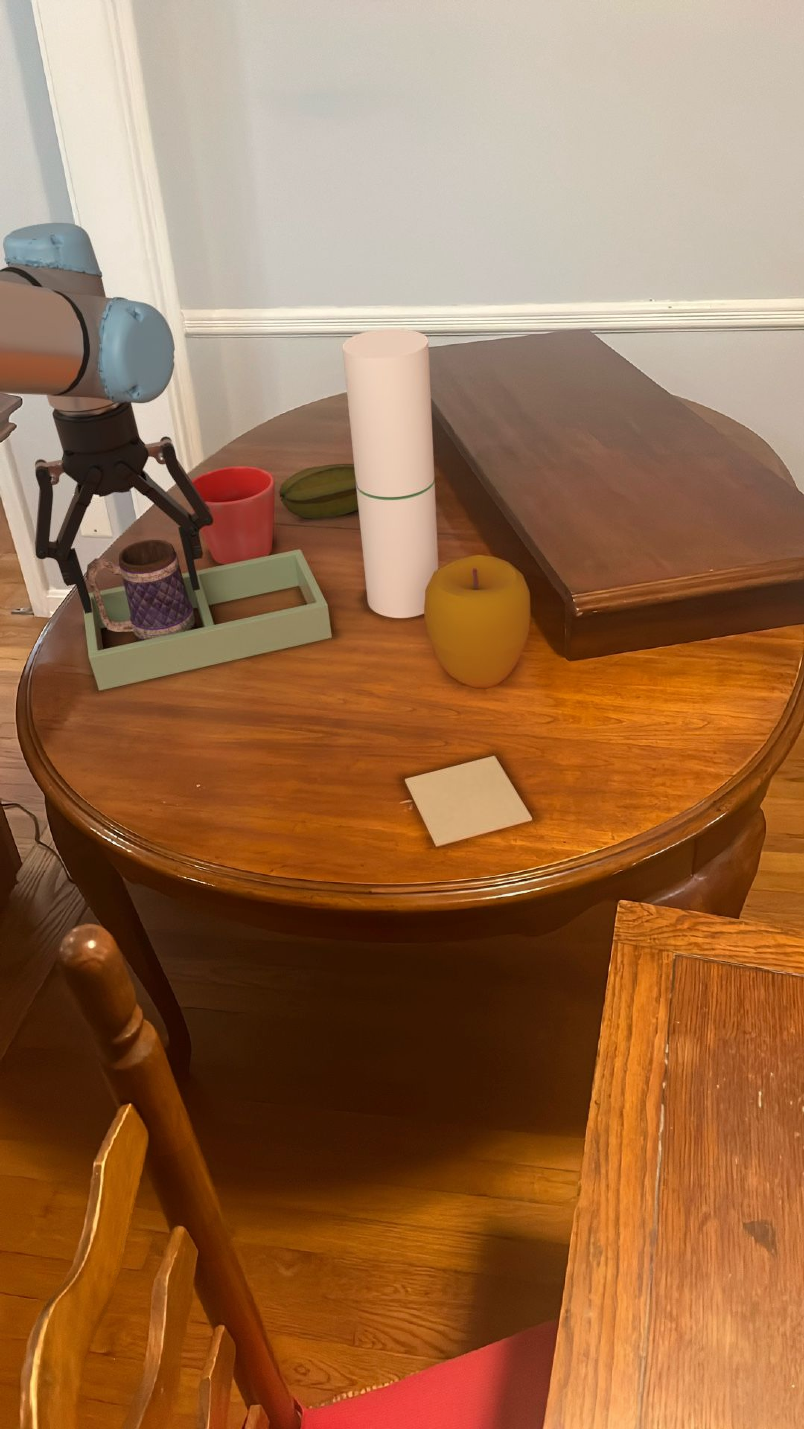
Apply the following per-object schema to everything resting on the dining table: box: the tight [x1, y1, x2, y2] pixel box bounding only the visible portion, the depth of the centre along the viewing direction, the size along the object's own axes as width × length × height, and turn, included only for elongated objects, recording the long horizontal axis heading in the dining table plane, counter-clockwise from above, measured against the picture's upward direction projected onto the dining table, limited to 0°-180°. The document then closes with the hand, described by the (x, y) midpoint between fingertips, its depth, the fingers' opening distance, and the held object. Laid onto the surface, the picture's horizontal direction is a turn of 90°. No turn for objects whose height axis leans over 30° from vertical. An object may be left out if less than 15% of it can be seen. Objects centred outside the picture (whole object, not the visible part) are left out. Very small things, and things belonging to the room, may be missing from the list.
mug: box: [85, 539, 198, 642], centre depth 110 cm, size 10×7×12 cm
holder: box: [82, 548, 333, 691], centre depth 113 cm, size 26×14×4 cm, turn 107°
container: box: [342, 328, 439, 619], centre depth 108 cm, size 9×9×30 cm
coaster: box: [404, 755, 533, 848], centre depth 90 cm, size 9×9×1 cm
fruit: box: [278, 463, 359, 520], centre depth 134 cm, size 11×12×7 cm
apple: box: [423, 554, 531, 689], centre depth 102 cm, size 11×11×13 cm
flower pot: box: [191, 466, 276, 565], centre depth 126 cm, size 11×11×10 cm
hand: (142, 595), depth 110 cm, fingers open, 11 cm apart
